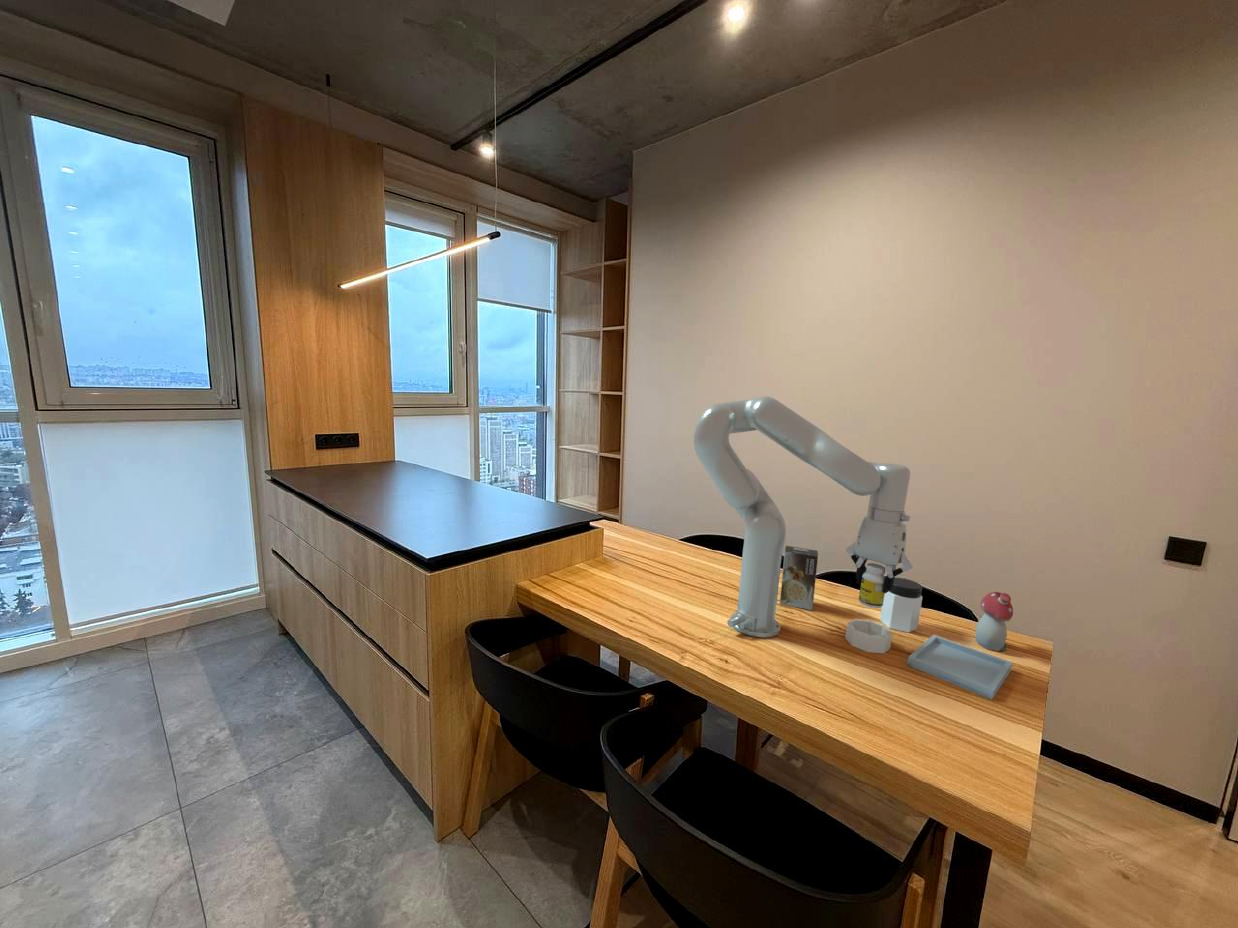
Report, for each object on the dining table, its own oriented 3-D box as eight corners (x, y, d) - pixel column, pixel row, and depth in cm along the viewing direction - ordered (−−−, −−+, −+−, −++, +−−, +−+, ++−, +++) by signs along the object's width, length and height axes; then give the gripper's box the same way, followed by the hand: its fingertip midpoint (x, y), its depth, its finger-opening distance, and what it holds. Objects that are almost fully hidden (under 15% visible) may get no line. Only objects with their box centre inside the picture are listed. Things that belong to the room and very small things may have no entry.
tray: (992, 699, 101) (993, 690, 101) (907, 664, 113) (908, 656, 113) (1010, 670, 113) (1012, 662, 113) (932, 641, 125) (933, 634, 124)
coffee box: (812, 602, 145) (819, 550, 143) (812, 611, 139) (819, 556, 137) (780, 596, 148) (786, 544, 146) (778, 604, 142) (784, 550, 140)
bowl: (879, 656, 116) (881, 641, 115) (840, 640, 122) (842, 625, 122) (894, 645, 122) (896, 630, 121) (856, 630, 129) (858, 616, 128)
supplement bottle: (853, 598, 123) (859, 561, 122) (874, 599, 124) (880, 562, 122) (866, 608, 118) (872, 569, 116) (887, 609, 118) (894, 570, 117)
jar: (905, 635, 128) (912, 591, 126) (874, 622, 134) (880, 580, 132) (922, 627, 132) (929, 585, 131) (891, 615, 139) (898, 575, 137)
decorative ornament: (1006, 657, 119) (1017, 598, 117) (973, 647, 123) (983, 590, 121) (1005, 642, 127) (1015, 587, 124) (974, 634, 130) (983, 580, 128)
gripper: (930, 522, 114) (916, 596, 116) (855, 505, 126) (844, 572, 129) (919, 526, 109) (905, 603, 111) (842, 508, 121) (831, 578, 124)
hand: (873, 586), depth 120 cm, fingers closed on supplement bottle, 5 cm apart
